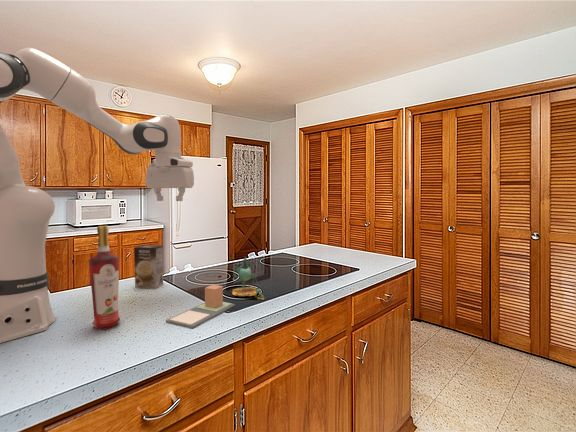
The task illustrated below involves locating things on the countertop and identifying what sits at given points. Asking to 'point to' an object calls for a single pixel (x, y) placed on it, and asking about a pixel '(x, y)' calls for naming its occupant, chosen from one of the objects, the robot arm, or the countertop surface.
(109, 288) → the liquor
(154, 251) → the coffee box
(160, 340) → the countertop surface
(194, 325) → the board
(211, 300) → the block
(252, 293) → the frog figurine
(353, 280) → the countertop surface
